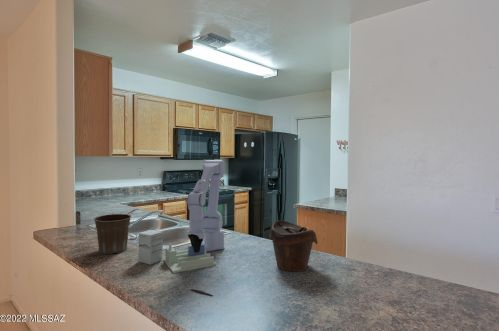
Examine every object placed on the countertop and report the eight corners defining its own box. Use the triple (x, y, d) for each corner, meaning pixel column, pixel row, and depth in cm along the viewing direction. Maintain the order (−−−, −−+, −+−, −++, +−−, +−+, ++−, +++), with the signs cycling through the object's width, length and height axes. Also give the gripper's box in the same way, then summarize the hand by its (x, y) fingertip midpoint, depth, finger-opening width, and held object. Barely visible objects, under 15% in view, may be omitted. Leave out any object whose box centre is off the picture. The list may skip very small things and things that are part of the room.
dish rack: (202, 254, 135) (202, 236, 135) (216, 265, 121) (216, 245, 121) (163, 260, 126) (163, 241, 126) (173, 273, 112) (173, 251, 112)
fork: (210, 299, 93) (210, 292, 93) (173, 288, 100) (173, 282, 100) (215, 295, 95) (215, 289, 95) (178, 285, 103) (178, 279, 103)
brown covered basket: (318, 276, 110) (318, 229, 110) (266, 272, 114) (266, 227, 114) (316, 261, 128) (317, 220, 128) (271, 258, 132) (272, 218, 132)
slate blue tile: (203, 257, 128) (203, 244, 127) (204, 258, 126) (204, 245, 126) (187, 260, 124) (187, 246, 124) (188, 261, 123) (189, 247, 123)
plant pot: (121, 256, 131) (121, 221, 130) (86, 255, 131) (86, 220, 131) (136, 245, 147) (136, 214, 146) (105, 245, 147) (105, 213, 147)
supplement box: (137, 262, 124) (137, 232, 124) (151, 257, 130) (151, 229, 130) (150, 265, 120) (150, 235, 120) (163, 259, 127) (163, 231, 127)
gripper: (182, 218, 129) (181, 248, 129) (192, 224, 116) (192, 257, 117) (197, 216, 133) (197, 245, 133) (209, 222, 120) (208, 255, 120)
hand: (195, 251), depth 125 cm, fingers closed on slate blue tile, 2 cm apart
